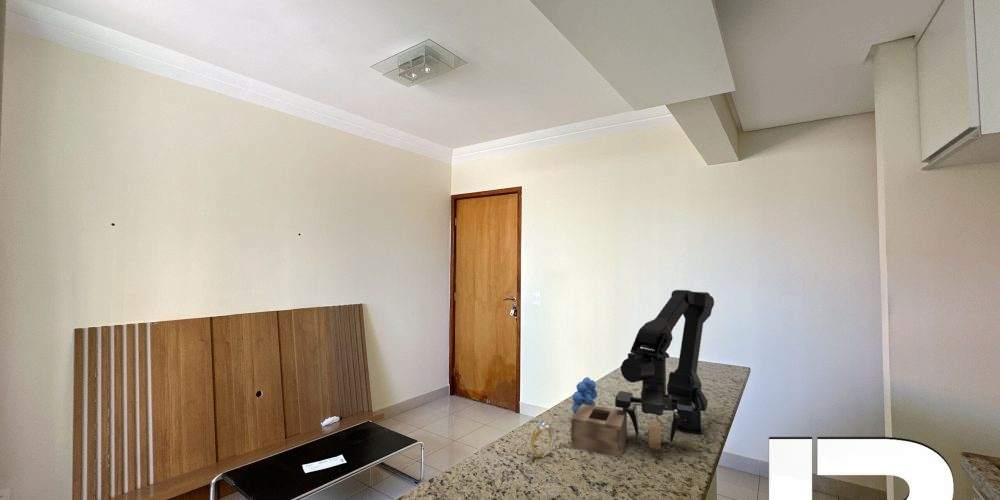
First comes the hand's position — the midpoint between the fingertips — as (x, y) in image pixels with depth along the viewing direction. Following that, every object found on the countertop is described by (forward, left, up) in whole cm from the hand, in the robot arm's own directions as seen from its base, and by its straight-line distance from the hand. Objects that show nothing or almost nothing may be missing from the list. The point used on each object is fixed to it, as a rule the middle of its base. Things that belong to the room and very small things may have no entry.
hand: (654, 438), depth 99 cm
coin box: (+13, +5, -2) cm, 14 cm away
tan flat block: (0, 0, -2) cm, 2 cm away
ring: (+24, +19, -2) cm, 30 cm away
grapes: (+21, -10, -2) cm, 23 cm away
